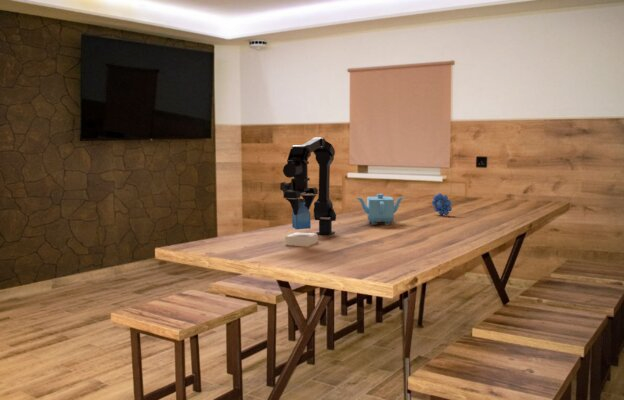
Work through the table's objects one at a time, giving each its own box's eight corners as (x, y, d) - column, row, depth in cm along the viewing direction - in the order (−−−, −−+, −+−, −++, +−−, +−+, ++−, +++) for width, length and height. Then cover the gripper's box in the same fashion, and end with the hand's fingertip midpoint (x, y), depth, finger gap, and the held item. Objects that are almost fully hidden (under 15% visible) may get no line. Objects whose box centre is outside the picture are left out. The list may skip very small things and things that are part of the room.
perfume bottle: (295, 229, 244) (295, 200, 242) (292, 227, 250) (291, 198, 248) (310, 228, 245) (310, 199, 244) (306, 226, 251) (306, 197, 250)
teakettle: (382, 227, 287) (383, 196, 285) (353, 223, 300) (353, 194, 298) (406, 222, 300) (407, 193, 298) (377, 219, 313) (377, 191, 311)
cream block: (295, 241, 255) (295, 232, 254) (317, 243, 251) (317, 233, 250) (285, 245, 246) (285, 236, 245) (307, 247, 242) (307, 237, 241)
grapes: (428, 215, 324) (428, 193, 323) (433, 213, 329) (434, 192, 328) (448, 217, 317) (448, 194, 315) (453, 215, 322) (453, 193, 321)
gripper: (295, 173, 257) (296, 209, 259) (271, 177, 241) (272, 215, 243) (318, 174, 251) (318, 210, 253) (295, 177, 235) (296, 217, 237)
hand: (301, 213), depth 247 cm, fingers closed on perfume bottle, 9 cm apart
